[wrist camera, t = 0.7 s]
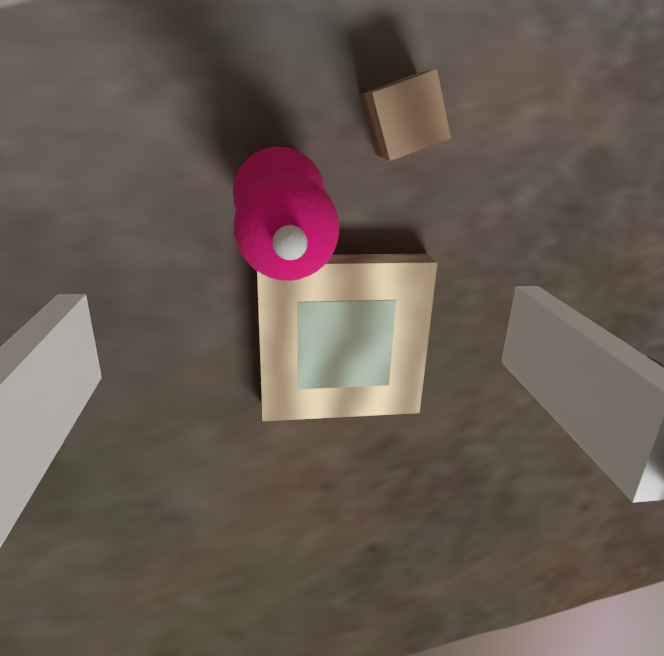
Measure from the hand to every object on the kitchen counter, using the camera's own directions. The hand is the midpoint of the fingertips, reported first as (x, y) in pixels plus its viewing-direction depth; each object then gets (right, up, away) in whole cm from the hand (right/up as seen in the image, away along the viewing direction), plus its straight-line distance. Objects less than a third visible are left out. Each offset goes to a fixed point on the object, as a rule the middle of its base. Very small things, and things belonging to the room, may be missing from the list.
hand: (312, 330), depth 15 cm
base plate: (+2, 0, +34) cm, 34 cm away
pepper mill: (-4, +12, +27) cm, 30 cm away
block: (+6, +18, +26) cm, 32 cm away
